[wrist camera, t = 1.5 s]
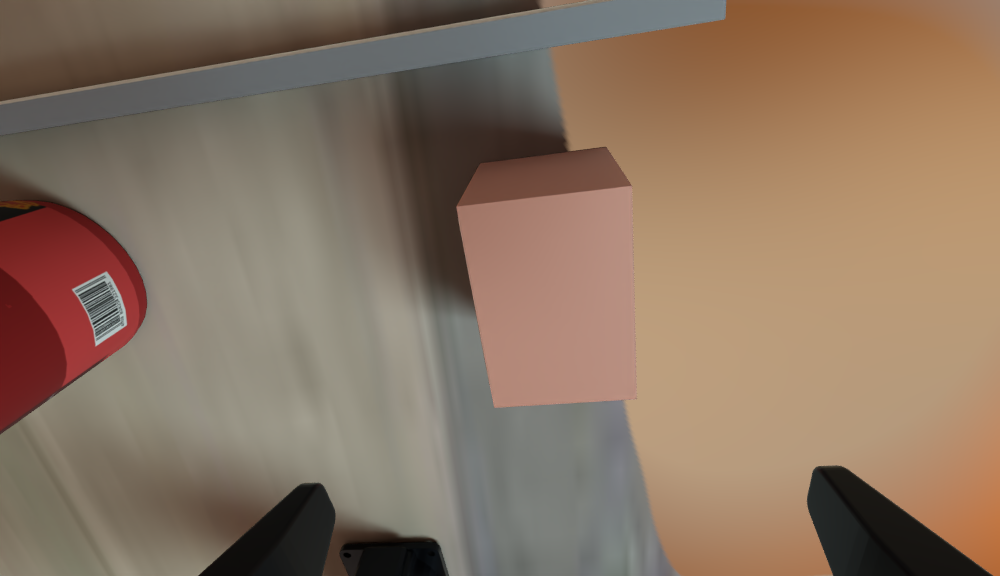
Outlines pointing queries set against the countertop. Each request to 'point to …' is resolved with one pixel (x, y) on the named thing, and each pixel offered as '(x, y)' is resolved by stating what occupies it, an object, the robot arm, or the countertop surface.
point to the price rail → (357, 59)
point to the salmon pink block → (553, 277)
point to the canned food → (59, 302)
